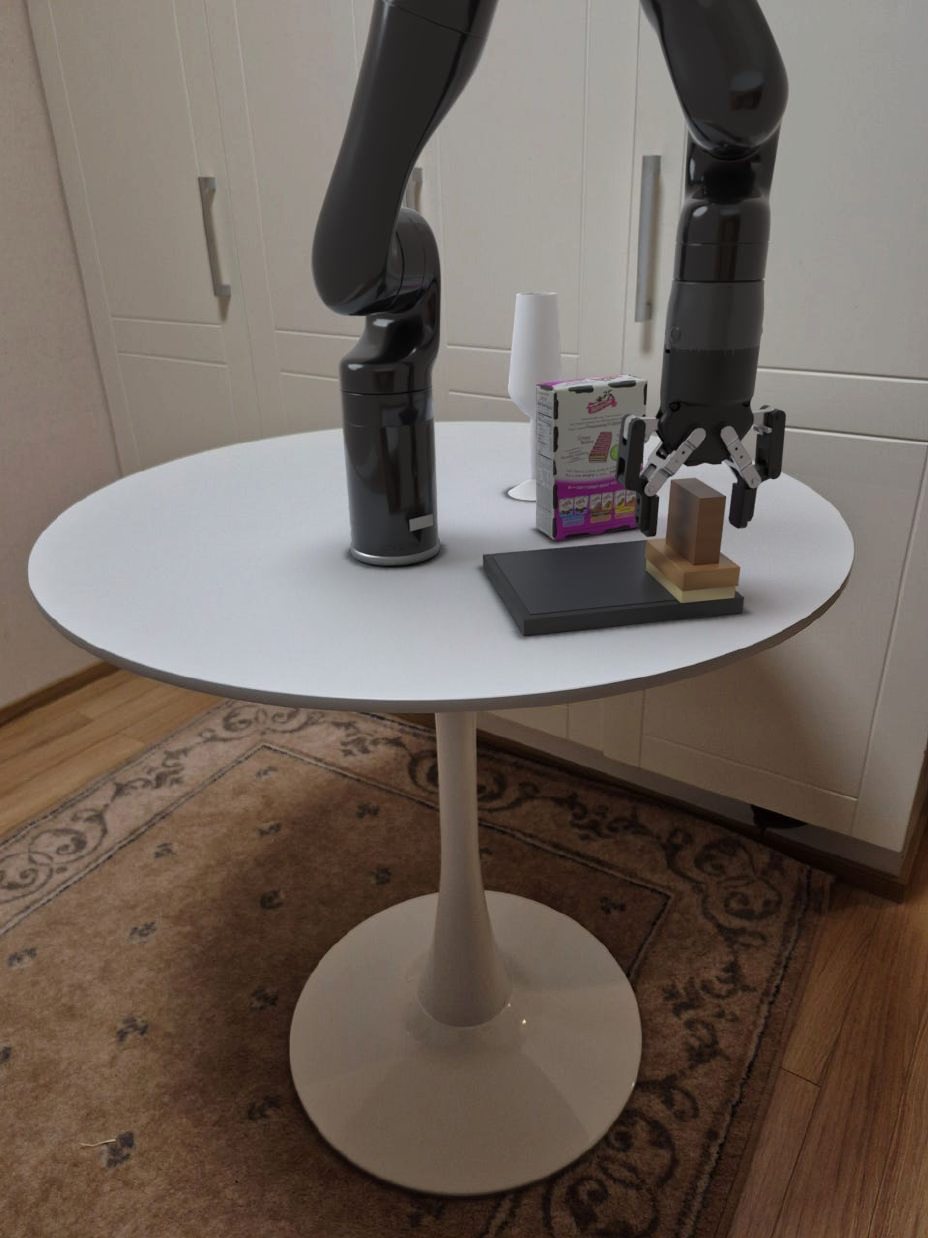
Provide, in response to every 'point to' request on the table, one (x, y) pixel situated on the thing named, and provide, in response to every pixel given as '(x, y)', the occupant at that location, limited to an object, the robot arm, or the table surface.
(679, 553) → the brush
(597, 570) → the panel
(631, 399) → the candy bar box
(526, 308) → the champagne flute
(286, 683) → the table surface
